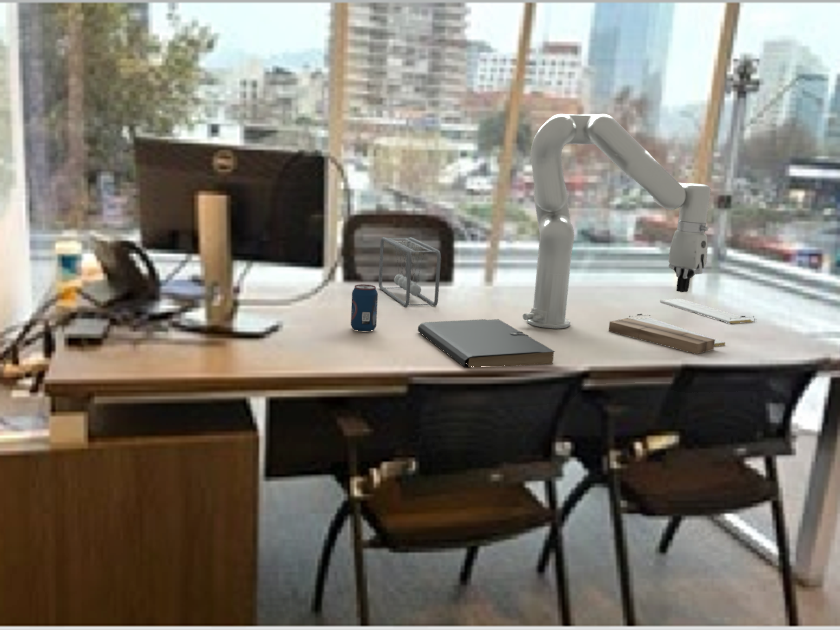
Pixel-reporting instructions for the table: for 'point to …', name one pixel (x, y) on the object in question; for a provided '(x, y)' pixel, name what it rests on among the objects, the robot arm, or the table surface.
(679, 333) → the plank row
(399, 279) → the newton's cradle
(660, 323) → the baseboard
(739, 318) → the baseboard molding
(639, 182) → the robot arm
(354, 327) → the soda can
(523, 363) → the dark grey book
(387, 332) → the table surface
